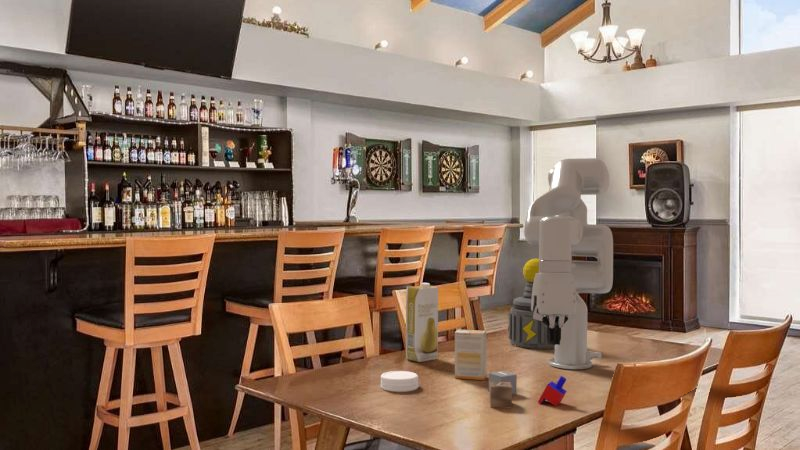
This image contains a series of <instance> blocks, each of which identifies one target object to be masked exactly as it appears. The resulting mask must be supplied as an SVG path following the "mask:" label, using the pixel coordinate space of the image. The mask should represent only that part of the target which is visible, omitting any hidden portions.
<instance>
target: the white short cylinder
mask: <svg viewBox="0 0 800 450" xmlns="http://www.w3.org/2000/svg"><path fill="white" fill-rule="evenodd" d="M380 388H381V390H385V391H387V392H394V393H404V392H405V393H406V392H413V391H416V390H417V389H419V375H418V374H417V373H415V372H413V371H407V370H392V371H386V372H383V373H382V374H381V375H380Z"/></svg>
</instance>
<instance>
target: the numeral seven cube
mask: <svg viewBox="0 0 800 450" xmlns="http://www.w3.org/2000/svg"><path fill="white" fill-rule="evenodd" d="M488 392H489V393H488V394H489V398H488V399H489V400H488V402H489V405H490V406H489V407H490V408H494V407H511V408H510V409H512V408H513V394H512V386H511V383H510V382H490V391H489V390H488Z"/></svg>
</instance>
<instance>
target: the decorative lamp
mask: <svg viewBox="0 0 800 450" xmlns="http://www.w3.org/2000/svg"><path fill="white" fill-rule="evenodd" d="M536 273H539V258H531V259H530V260H527V261H526V262H525V264H524V266H523V268H522V275H523V276H524V277H523V278H524V279H525V281H526V282H525V285H526V286H525V287H524V292H523V295H522V296H517V297H516V298H514V299H513V301H512V304H513V306H512V307H511V308H510V311H509V312H508V314H507V316H508V325H507V330H508V339H509V343H510V344H511V345H512V344H513V345H512V346H514V345H516V346H515V347H517V346H520V347H519V348H522V347H525V348H524V349H529V348H535V349H534V350H547V348H551V349H555V345H552V344H549V343H548V340H547V327H546V326H545V324H544V323H543V322H542V321H540V320H536V319H533V314H534V312H532V310H531V299H532V289H533V283H534V278H535V274H536ZM541 316H544V315H541ZM553 317H555V315H553Z"/></svg>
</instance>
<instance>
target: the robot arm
mask: <svg viewBox="0 0 800 450" xmlns="http://www.w3.org/2000/svg"><path fill="white" fill-rule="evenodd" d="M547 181H548V185H549V186H548V187H549V189H548V190H547V191H546V192H544V193H543V194H542V195H540V196H538V197H537V198H536V199H535V200H533V202H532V203H531V204H530V206H529V207H528V208H527V209H528V210H527V212H526V217H525V221H524V229H523V230H524V231H523V232H524V238H525V241H526V242H527V243H528V244H529V245H531V246H538V249H539V250H538V259H539V273H536V274H535V278H534V283H533V289H532V299H531V310H532V312H534V314H533V319H536V320H540V321H542V322H543V323H544V324H545V326H546V327H547V340H548V343H549V344H552V345H555V348H554V357H552V358H550V359H549V360H548V362H549V363H548V364H549V365H550V366H551V367H553V368H557V369H564V370H586V369H590V368H592V367H593V362H592V360H593V359H596V360H597V359H601V358H602V356H603V355H602V352H601V351H590V350H588V306H587V304H586V302H585V301H584V299H583V298H582V297H581V296H580V295H579V294H607V293H609V292H610V291H611V290H612V288H613V283H614V282H613V281H614V237H613V233H612V230H611V228H610V227H609V226H608V225H604V224H589V223H588V207H587V205H586V203H585V202H584V201H583V199H582V196H583V195H584V196H586V195H588V196H589V195H590V196H592V195H593V196H597V195H600V196H601V195H604V194H606V193H607V191H608V189H609V186H610V173H609V170H608V167H607V165H606V163H605V162H604V161H603V160H602V159H600V158H595V157H594V158H590V157H589V158H565V159H561V160H559V161H558V162H556V163H555V164H554V166H553V168H551V169H550V170H549V172H548V175H547ZM572 257H594V258H596V259H597V261H596V260H595V261H592V260H591V261H590V260H575V259H574V260H572V259H571V258H572ZM541 315H544V316H541ZM553 315H555V317H553Z"/></svg>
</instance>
